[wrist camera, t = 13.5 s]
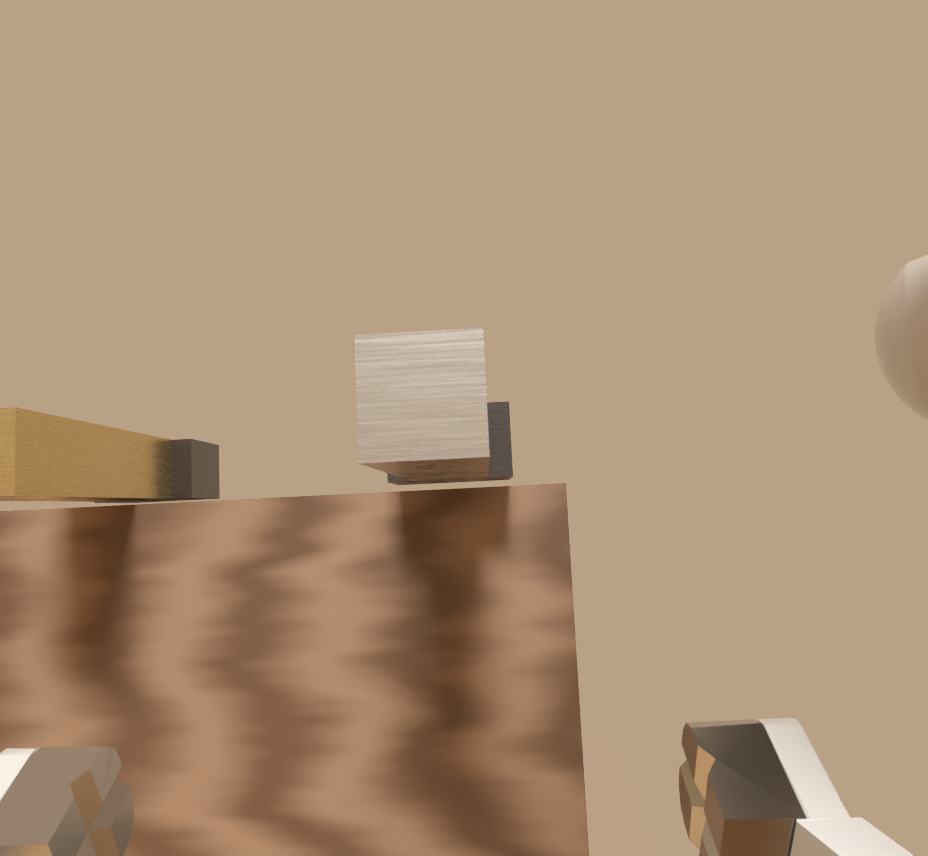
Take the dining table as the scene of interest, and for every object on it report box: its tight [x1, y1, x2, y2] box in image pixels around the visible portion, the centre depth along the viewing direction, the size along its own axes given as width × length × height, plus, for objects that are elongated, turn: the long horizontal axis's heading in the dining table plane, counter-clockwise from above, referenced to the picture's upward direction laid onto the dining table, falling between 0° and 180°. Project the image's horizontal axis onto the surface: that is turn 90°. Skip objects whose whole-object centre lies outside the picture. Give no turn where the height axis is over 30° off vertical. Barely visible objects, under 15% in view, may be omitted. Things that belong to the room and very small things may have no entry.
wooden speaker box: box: [0, 484, 589, 856], centre depth 40 cm, size 26×14×26 cm, turn 88°
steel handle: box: [355, 328, 513, 485], centre depth 26 cm, size 5×17×3 cm, turn 178°
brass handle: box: [0, 408, 219, 503], centre depth 34 cm, size 5×17×3 cm, turn 178°
